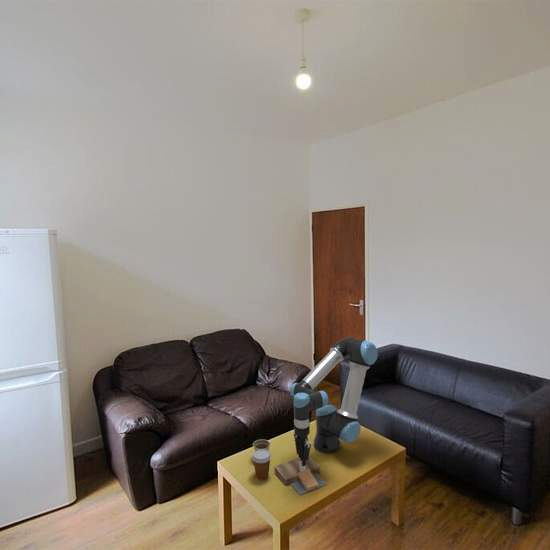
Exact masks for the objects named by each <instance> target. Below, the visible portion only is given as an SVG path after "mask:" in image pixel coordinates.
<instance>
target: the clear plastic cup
mask: <svg viewBox="0 0 550 550" xmlns="http://www.w3.org/2000/svg"><path fill="white" fill-rule="evenodd" d="M252 447H253V449H254V452H255V451H256V450H259V449H266V450H268V451H269V449H270V447H271V442H270V441H269V440H267V439H257V440H255V441H253V443H252ZM269 452H270V451H269Z"/></svg>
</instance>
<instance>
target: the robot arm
mask: <svg viewBox="0 0 550 550" xmlns="http://www.w3.org/2000/svg"><path fill="white" fill-rule="evenodd" d="M378 354H379V353H378V349H377V346H376V345H375V344H374V343H373V342H370V341H368V340H363V339H360V338H356V337H354V336H353V337H352V336H348V337H345V338H342V339H340V340H338V341H337V342H336V343H334V344H333V345H332V346H331V347H330V348H329V352H328V353H327V354H325V356H324V357H323V358H322V359H321V360H320V361H319V362H318V363H317V364H316V365H315V366H314V367H313V368H312V370H310V371H309V372H308V373H307V375H306V376H305V377H304V378H303V379H302V380H301V381H300V382H294V383H292V384H291V385H290V387H289V395H290V396H291V397H293V418H294V419H293V423H294V425H293V426H294V427H293V431H294V432H293V438H294V442H295V443H294V444H295V451H296V455H298V458H299V468H300V472H301V471H304V470H306V460H308V459H309V457H310V451H311V446H312V444H311V443H309V438H308V436H309V434H310V432H311V431H310V429H311V428H310V412H313V411H315V410H316V412H315V426H316V427H315V428H316V433H315V436H314V439H313V448H314V449H315V450H316V451H317V452H320V453H324V454H333V453H336V452H337V451H340V449H341V442H340V441H344V442H346V443H352V442H354V441H355V440H357V438H358V437H359V435H360V433H361V427H362V426H361V425H360V423H359V422H358V420H359V416H358V414H357V412H358V408H359V403H360V400H361V395H362V391H363V386H364V383H365V378H366V373H367V370H369V369H370V368H371V365H374V364H375V362H377V359H378V356H379V355H378ZM345 359H349V360H348V363H349V365H350V368H349V372H348V377H347V380H346V385H345V389H344V394H343V397H342V401H341V406H340V408H339V409H337V407H336V405H334V404H328V403H329V396H328V394H327V392H325V391H324V390H319V391H315V390H314V389H315V388H316V387H317V386H318V385H319V384H320V383H321V381H323V379H325V378H326V376H327V375H328V374H329V373H330V372H331V371H332V370H333V369H334V368H335V367H336V366H337V365H338V363H340V362H342V361H344V360H345Z"/></svg>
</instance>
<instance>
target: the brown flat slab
mask: <svg viewBox="0 0 550 550" xmlns="http://www.w3.org/2000/svg"><path fill="white" fill-rule="evenodd" d="M307 469H309V470H310V472H311V473H312V475H314V474H317V475H319V474H321V467H320V466H319V465H318V463H316V462H315V461H314V460H313V459H312V458H311V457H310V456H309V459H308V460H306V470H307ZM273 470H274V473H275V474H276V476H277V477H278V478H279V479H280V480H281V481H282V482H281V483H283V484H284V486H289V485H291V484H290V483H293V482H296V481H298V480H300V478H299V477H298V473H299V472H300V468H299V457H298V458H295V459H292V460H289V461H286V462H283V463H281V464H278V465H275V466H274V469H273Z"/></svg>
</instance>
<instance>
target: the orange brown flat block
mask: <svg viewBox="0 0 550 550" xmlns="http://www.w3.org/2000/svg"><path fill="white" fill-rule="evenodd" d="M298 477H299V478H300V480H301V482H302V484H303V485H304V487H305V489H306V490H307V491H309V490H312V489H314V488H317V487H318V483H317V481H316V479H315V478H314V476H313V475H312V473H311V472H310V470H309V469H307V470H304V471H301V472H299V473H298ZM317 489H318V488H317ZM314 490H315V489H314ZM312 491H313V490H312Z"/></svg>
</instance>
